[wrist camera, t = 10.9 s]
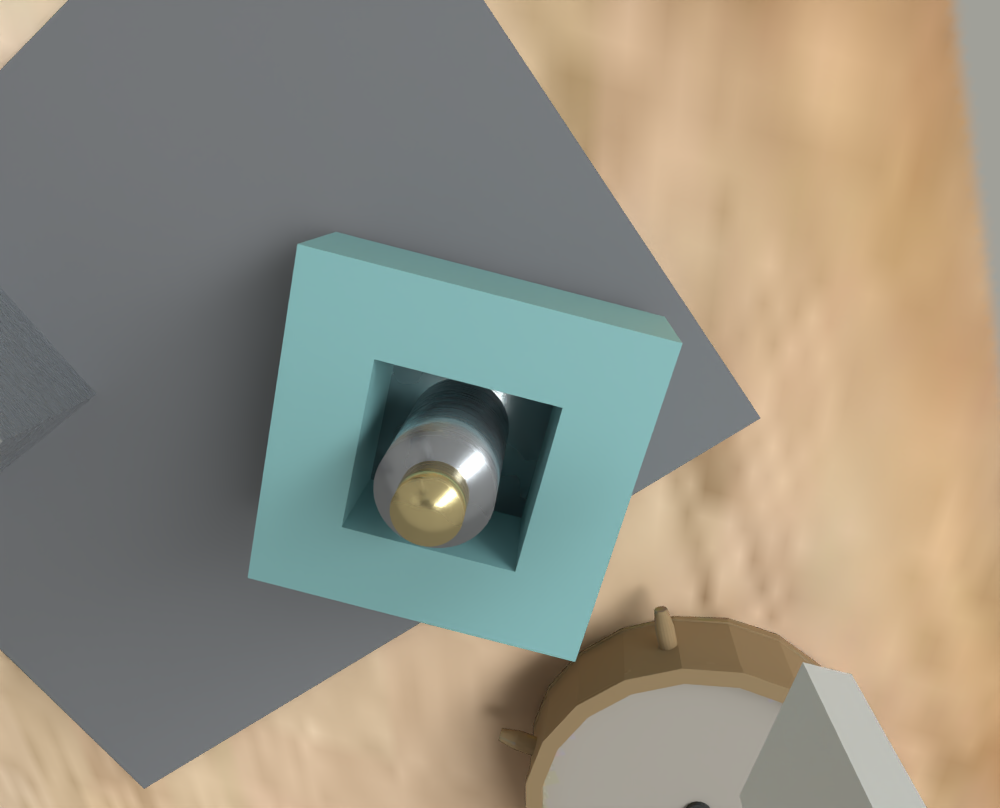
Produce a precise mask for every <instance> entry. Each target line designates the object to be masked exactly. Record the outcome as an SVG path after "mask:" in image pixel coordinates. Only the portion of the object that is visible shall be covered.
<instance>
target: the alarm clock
mask: <svg viewBox="0 0 1000 808" xmlns="http://www.w3.org/2000/svg"><path fill="white" fill-rule="evenodd" d="M654 616H655V621H651V622H647V623H643V624H639V625H635V626H630V627H626V628H622V629H620V630H619V631H617V632H615V633H613V634H612V635H610V636H608V637H606V638H604V639H603V640H601V641H599V642H597V643H596V644H594V645H592V646H590V647H589V648H587V649H585V650H583V651H582V652H580V653H579V654H578V655H577V658H576V661H575V662H573V661H571V662H570V663H569V665H568V666H567V667H566V668H565V669H564V670H563V671H562V672H561V673H560V674H559V676H558V677H557V678H556V679H555V680H554V681H553V682H552V683H551V684H550V685H549V687H548V690H547V692H546V695H545V697H544V700H543V702H542V705H541V707H540V710H539V712H538V715H537V717H536V720H535V722H534V726H533V735H531V734H528V733H525V732H522V731H518V730H511V729H504V728H502V730H501V733H500V737H499V741H501V742H502V743H504V744H506V745H508V746H509V747H511V748H513V749H515V750H518V751H521V752H523V753H526V754H529V755H531V761H530V768H529V773H528V775H527V778H526V808H743V806H742V803H741V799H740V796H739V795H740V793H741V791H742V789H743V787H744V785H745V783H746V781H747V779H748V776H749V774H750V772H751V770H752V768H753V766H754V764H755V762H756V760H757V758H758V755H759V753H760V751H761V749H762V747H763V745H764V743H765V741H766V739H767V736H768V734H769V732H770V730H771V728H772V726H773V724H774V722H775V720H776V718H777V715H778V713H779V711H780V709H781V707H782V705H783V703H784V701H785V699H786V696H787V694H788V692H789V690H790V688H791V686H792V684H793V682H794V680H795V678H796V675H797V673H798V671H799V669H800V667H801V665H802V663H803V662H804V663H808V664H812V665H816V666H820V665H819V664H818V663H816V662H815V661H814V660H812V659H811V658H809V657H808V656H807V655H805V654H804V653H803V652H801V651H800V650H798V649H797V648H796V647H794V646H793V645H791V644H790V643H789V642H787V641H786V640H785V639H783V638H782V637H780V636H779V635H777V634H774V633H771V632H768V631H766V630H763V629H760V628H757V627H754V626H751V625H748V624H745V623H742V622H739V621H735V620H732V619H729V618H713V617H681V616H672V617H670V614H669V612H668V610H667V608H666V607H664V606H660V607H657V608H655V610H654ZM820 667H821V666H820ZM926 808H927V807H926Z"/></svg>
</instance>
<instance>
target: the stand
mask: <svg viewBox="0 0 1000 808" xmlns="http://www.w3.org/2000/svg"><path fill="white" fill-rule="evenodd" d="M95 395H97V394H96V393H95V392H94V391H93V390H92V389H91V387H90V386H89V385H88V384H87V383H86V382H85V381H84V380H83V379H82V377H81V376H80V375H79V374H78V373H77V372H76V371H75V370H74V369H73V367H72V366H71V365H70V364H69V363H68V362H67V361H66V360H65V359H64V357H63V356H62V355H61V354H60V353H59V352H58V351H57V350H56V349H55V347H54V346H53V345H52V344H51V343H50V342H49V341H48V340H47V339H46V337H45V336H44V335H43V334H42V333H41V332H40V331H39V330H38V329H37V327H36V326H35V325H34V324H33V323H32V322H31V321H30V320H29V319H28V317H27V316H26V315H25V314H24V313H23V312H22V311H21V310H20V309H19V308H18V306H17V305H16V304H15V303H14V302H13V301H12V300H11V299H10V298H9V296H8V295H7V294H6V293H5V292H4V291H3V290H2V289H1V288H0V473H1V472H2V471H3V470H5V469H6V468H7V467H8V466H9V465H11V464H12V463H13V462H14V461H16V460H17V459H18V458H19V457H20V456H22V455H23V454H24V453H25V452H27V451H28V450H29V449H30V448H32V447H33V446H34V445H35V444H36V443H38V442H39V441H40V440H41V439H43V438H44V437H45V436H46V435H47V434H49V433H50V432H51V431H52V430H54V429H55V428H56V427H57V426H59V425H60V424H61V423H62V422H63V421H65V420H66V419H67V418H68V417H70V416H71V415H72V414H73V413H74V412H76V411H77V410H78V409H79V408H81V407H82V406H83V405H84V404H86V403H87V402H88V401H89V400H90V399H92V398H93V397H94V396H95Z"/></svg>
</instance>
